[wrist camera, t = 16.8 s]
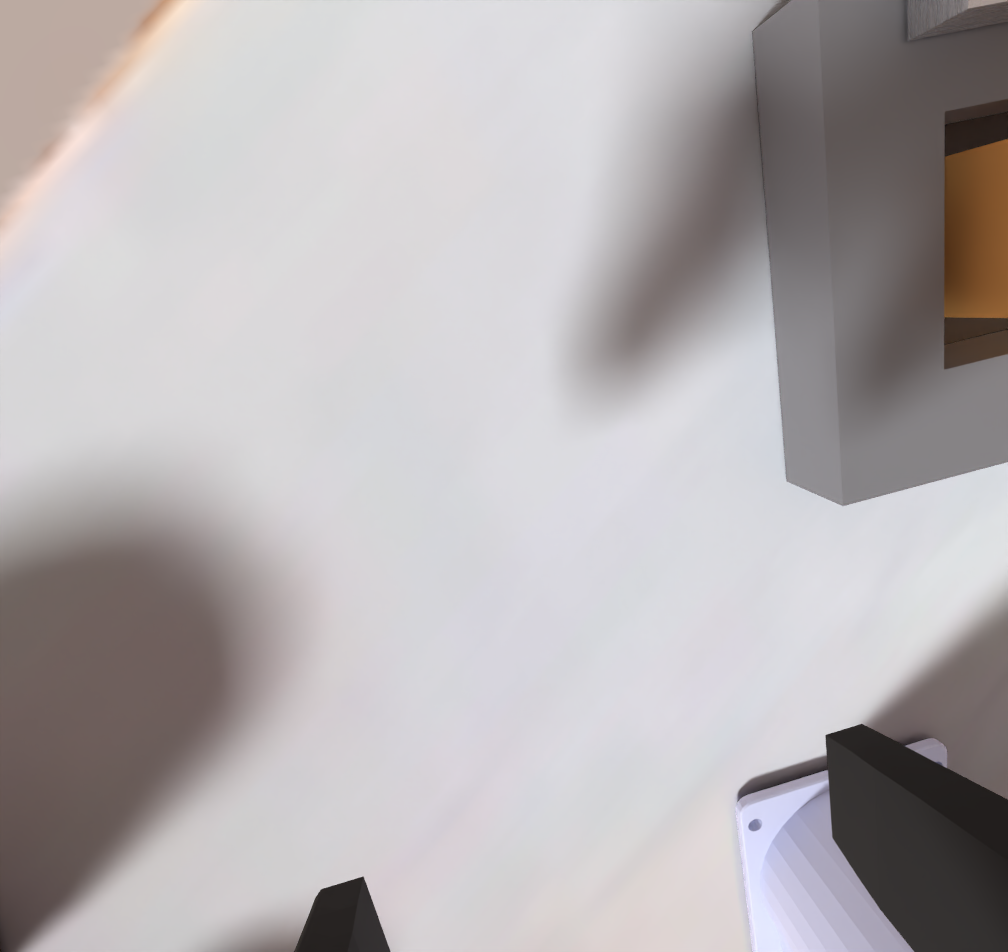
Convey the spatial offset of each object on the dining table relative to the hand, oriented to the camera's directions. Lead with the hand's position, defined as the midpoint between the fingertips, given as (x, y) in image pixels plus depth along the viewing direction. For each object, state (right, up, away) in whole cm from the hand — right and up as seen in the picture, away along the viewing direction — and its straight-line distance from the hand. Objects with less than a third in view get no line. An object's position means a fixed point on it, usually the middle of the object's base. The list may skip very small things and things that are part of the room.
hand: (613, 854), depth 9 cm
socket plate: (+12, +13, +8) cm, 19 cm away
